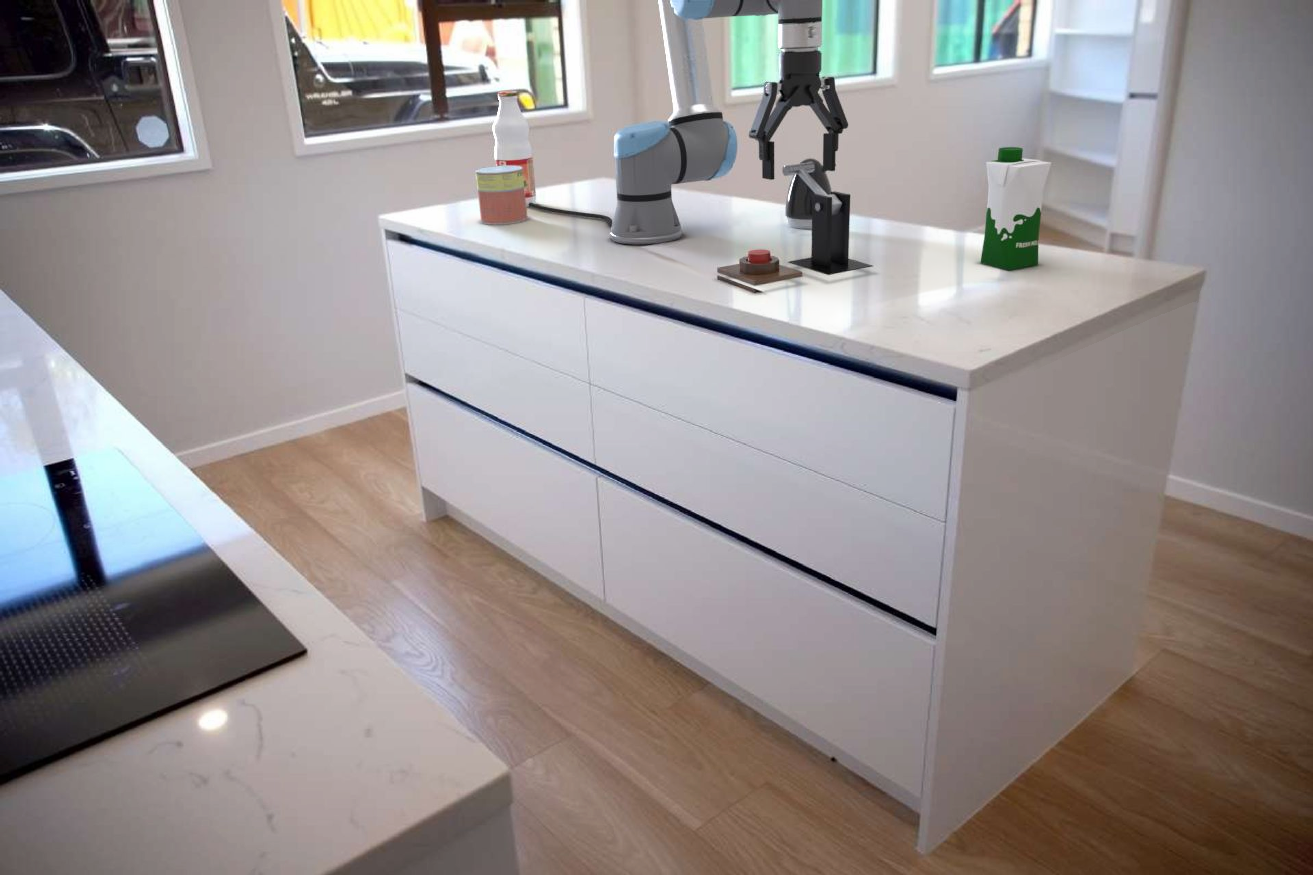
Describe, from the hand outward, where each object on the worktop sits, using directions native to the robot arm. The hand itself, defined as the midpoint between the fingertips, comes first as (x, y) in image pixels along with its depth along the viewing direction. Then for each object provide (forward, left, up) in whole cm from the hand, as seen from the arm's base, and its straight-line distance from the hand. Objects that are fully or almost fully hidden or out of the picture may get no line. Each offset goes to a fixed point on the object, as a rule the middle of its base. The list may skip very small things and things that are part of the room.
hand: (799, 174), depth 182 cm
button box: (+7, -14, -16) cm, 23 cm away
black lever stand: (+9, 0, -16) cm, 19 cm away
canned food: (-79, -29, -16) cm, 86 cm away
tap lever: (+4, 0, -3) cm, 5 cm away
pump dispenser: (-20, +18, -16) cm, 32 cm away
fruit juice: (-95, -19, -16) cm, 99 cm away
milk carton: (+26, +28, -16) cm, 41 cm away
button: (+7, -14, -13) cm, 20 cm away
